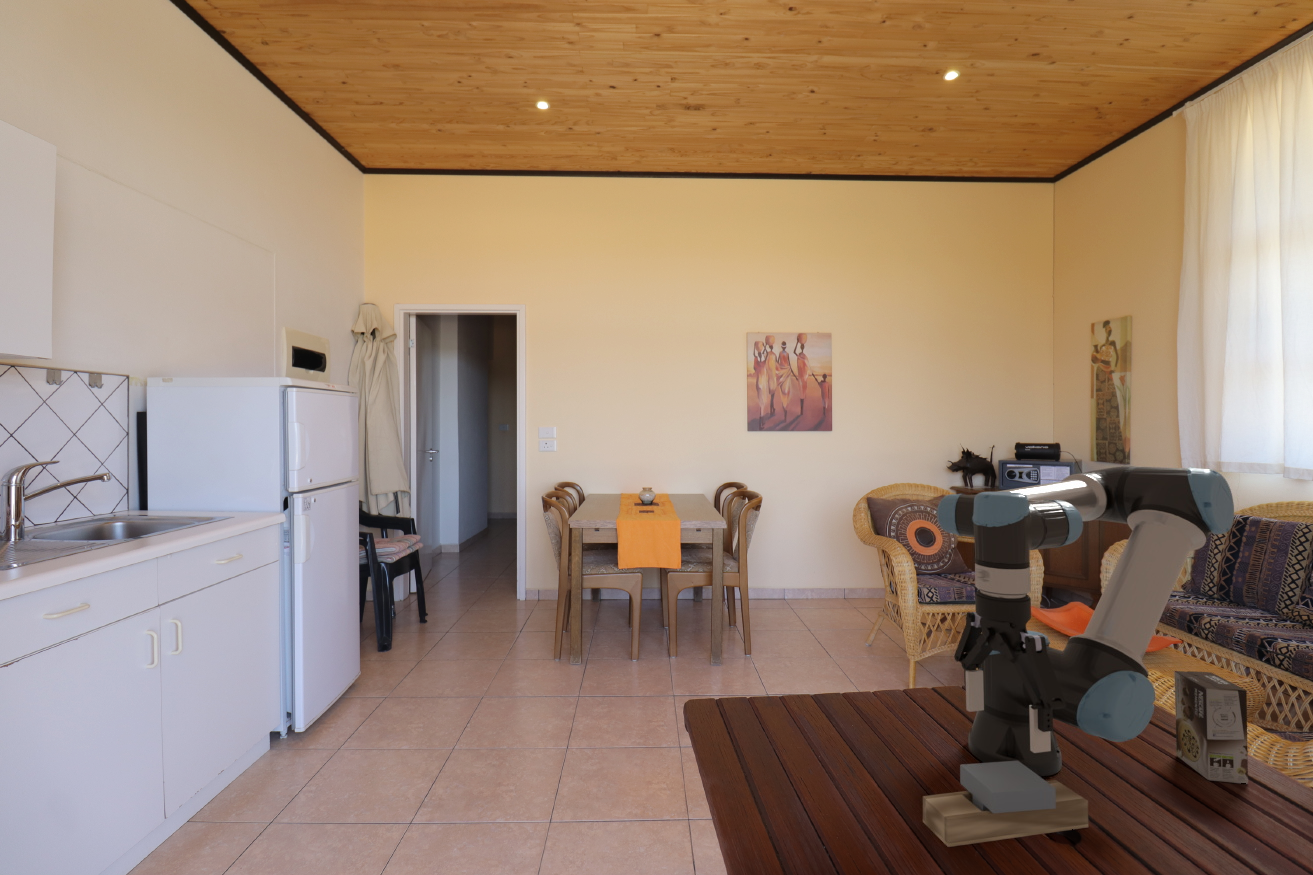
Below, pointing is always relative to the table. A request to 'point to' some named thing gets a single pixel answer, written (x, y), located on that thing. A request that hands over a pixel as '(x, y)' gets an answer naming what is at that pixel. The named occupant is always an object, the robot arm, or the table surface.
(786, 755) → the table surface
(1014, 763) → the grey plastic block
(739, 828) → the table surface
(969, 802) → the rail
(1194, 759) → the coffee box
